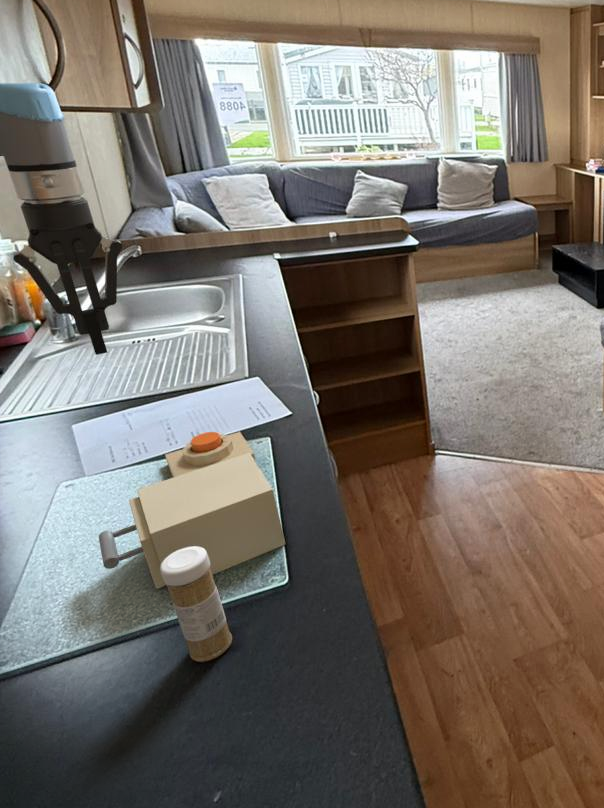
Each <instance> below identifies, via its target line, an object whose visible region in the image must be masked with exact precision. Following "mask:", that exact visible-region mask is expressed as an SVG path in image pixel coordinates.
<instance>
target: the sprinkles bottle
mask: <svg viewBox="0 0 604 808" xmlns="http://www.w3.org/2000/svg"><path fill="white" fill-rule="evenodd" d="M160 571H161V574H162V577H163V580H164V582H165V583H166V585H165V586H166V587H167V586H168V587H167V589H169V590H168V592H169V594H170V597H171V602H172V606H173V608H174V612H175V614H176V617H177V620H178V624H179V626H180V630H181V632H182V635H183V637H184V639H185V642H186V645H187V648H188V650H189V652H188V654H189V658H190V659H192V660H193V661H194V662H197V663H198V662H199V663H204V662H208V661H212V660H214V659H217V658H219V657H220V656H221V655H223V654H224V653H225V652H226V651H227V650H228V649H229V648H230V646H231V645H232V641H233V635H232V633H231V631H230V630H229V626H228V622H227V618H226V613H225V610H224V607H223V603H222V600H221V596H220V593H219V591H218V587H217V585H216V583H215V580H214V576H213V575H212V573H211V570H210V560H209V557H208V554H207V552H206V550H205V549H204V548H202V547H197V546H193V547H186V548H183V549H180V550H178V551H176V552H174V553H172V554H170V555H169V556H168V557H167V558H165V559H164V561H163V562H162V564H161V566H160Z"/></svg>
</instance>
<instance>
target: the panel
mask: <svg viewBox="0 0 604 808" xmlns="http://www.w3.org/2000/svg"><path fill="white" fill-rule="evenodd" d="M219 434H220V438H221V442H222V445H221V446H220V447H218V448H216V449H215V450H212V451H208V452H203V453H195V452H193V449H192V445H191V441H190V442H188V443H186V444H185V446H184V447H183V448H182V449H178V450H175V451H172V452H169V453H166V454H164V457H165V459H166V460H165V461H166V463H167V467H168V469H169V471H170V474H171V476H172V478H173V477H177V476H180V475H183V474H186V473H189V472H192V471H195V470H198V469H201V468H204V467H207V466H210V465H213V464H216V463H219V462H222V461H226V460H229V459H232V458H235V457H238V456H241V455H244V454H247V453H250V454H251V456H252V458H253V459H254V461H255V462H256V464H257V465H258V463H257V460H256V455H255V453H254V451H253V449H252V448H251V446H250V444H248V442H247V440H246V438H245V437H244V436H243V434H242V432H241V431H237V432H234V433H231V434H228V435H227V434H222V433H219Z"/></svg>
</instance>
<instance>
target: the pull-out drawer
mask: <svg viewBox="0 0 604 808" xmlns="http://www.w3.org/2000/svg"><path fill="white" fill-rule="evenodd" d="M128 502H129V506H130V510H131V512H132V513H131V514H132V517H133V521H134V524H133V525H129V526H126V527H124V528H121V529H118V530H116V531H111V530H103V531H102V532H101V533H99V535H98V542H99V547H100V553H101V558H102V563H103V564H102V565H103V567H104V568H105V569H106V570H107V569H108V570H111V569H115V568H116V567H118V566H119V564H120V562H122V561H124V560H126V559H129V558H133V557H135V556H137V555H140V554H144V558H145V560H146V563H147V566H148V569H149V572H150V575H151V578H152V580H153V581H152V582H153V583H154V586H155V589H157V590H158V589H160V588H162V587H165V586H167V585H166V583H165V582H164V580H163V577H162V574H161V571H160V566H161V565H160V562H159V559H158V556H157V553H156V550H155V547H154V544H153V541H152V538H151V535H150V532H149V529H148V525H147V522H146V519H145V515H144V512H143V509H142V505H141V502H140V499H139V496H138V497H134V498H132V499H129V500H128ZM135 531H136V532H137V535H138V538H139V542H140V545H141V546H140V547H137V548H134V549H132V550H129V551H126V552H124V553H120V554H119V553H118V549H117V546H116V545H117V544H116V540H115V538H118V537H120V536H123V535H126V534H129V533H133V532H135Z"/></svg>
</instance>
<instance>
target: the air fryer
mask: <svg viewBox="0 0 604 808" xmlns="http://www.w3.org/2000/svg"><path fill="white" fill-rule="evenodd" d="M256 463H257V461H256V462H255V461H254V459H253V458H252V456H251V454H250V453H247V454H244V455H241V456H238V457H235V458H232V459H229V460H226V461H222V462H219V463H216V464H213V465H210V466H207V467H204V468H201V469H198V470H195V471H192V472H189V473H186V474H183V475H180V476H177V477H173V476H172V477H170V478H168V479H164V480H161V481H158V482H155V483H152V484H149V485H146V486H143V487H141V488H137V489H136V492H137V495H138V497H139V499H140V502H141V505H142V509H143V512H144V515H145V519H146V522H147V525H148V529H149V532H150V535H151V538H152V541H153V544H154V547H155V550H156V553H157V556H158V559H159V562H160V565H161V564H162V562H163V561H164V559H165V558H167V557H168V556H169V555H170V554H172V553H174V552H176V551H178V550H180V549H183V548H186V547H193V546H197V547H202V548H204V549H205V550H206V552H207V554H208V557H209V560H210V570H211V573H212V576H213V575H215V574H218V573H220V572H223V571H225V570H229V569H230V568H233V567H235V566H237V565H239V564H242V563H244V562H247V561H249V560H252V559H254V558H256V557H259V556H261V555H263V554H266V553H268V552H271V551H273V550H275V549H278V548H281V547H283V546H286V540H285V535H284V532H283V527H282V523H281V519H280V514H279V509H278V507H277V500H276V497H275V493H274V489H273V488H272V486H271V485H270V482H269V481H268V479H267V478H266V476H265V475H264V473H263V471H262V470H261V468H260V467H259V466H258V463H257V464H256ZM166 587H167V589H168V586H167V585H166ZM167 591H169V589H168V590H167Z"/></svg>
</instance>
